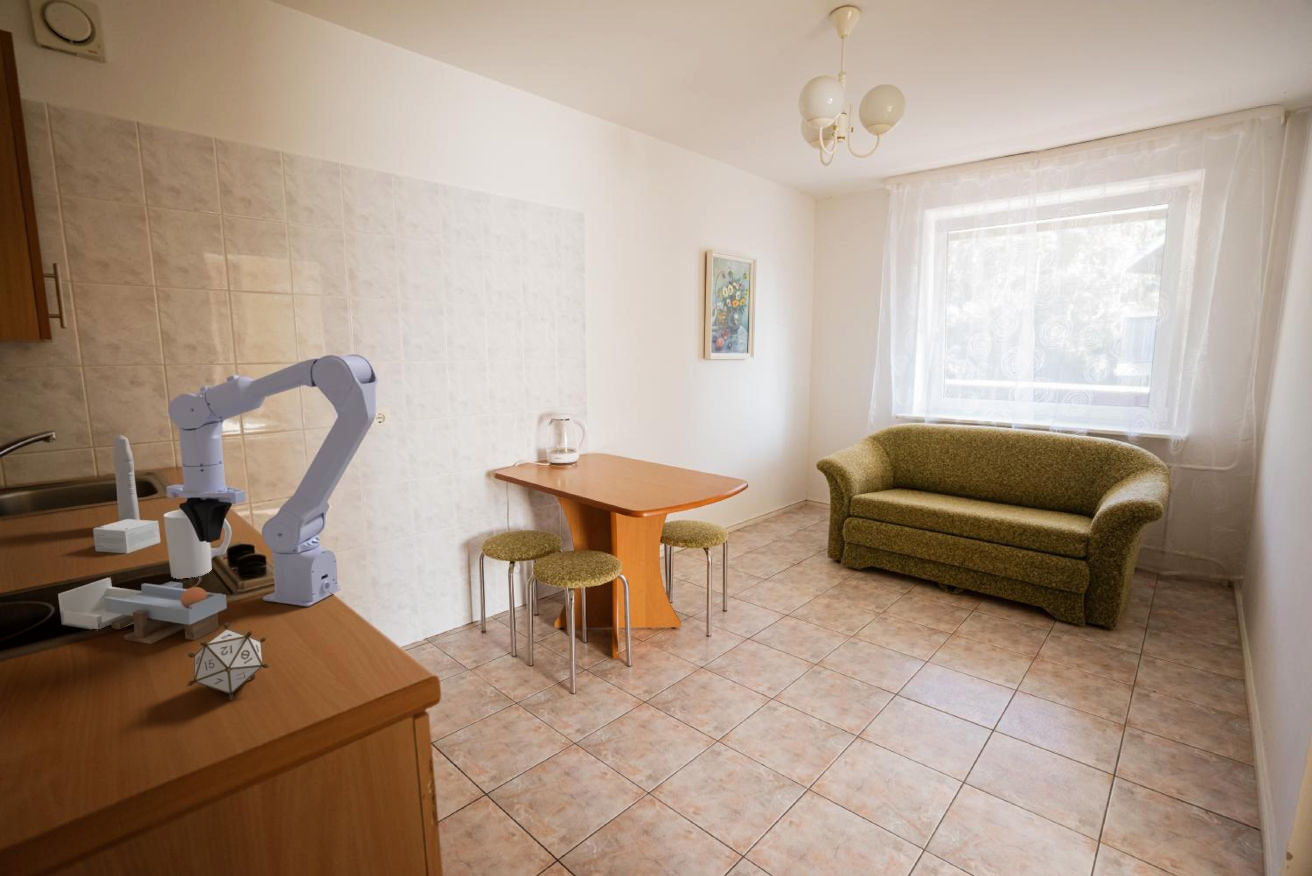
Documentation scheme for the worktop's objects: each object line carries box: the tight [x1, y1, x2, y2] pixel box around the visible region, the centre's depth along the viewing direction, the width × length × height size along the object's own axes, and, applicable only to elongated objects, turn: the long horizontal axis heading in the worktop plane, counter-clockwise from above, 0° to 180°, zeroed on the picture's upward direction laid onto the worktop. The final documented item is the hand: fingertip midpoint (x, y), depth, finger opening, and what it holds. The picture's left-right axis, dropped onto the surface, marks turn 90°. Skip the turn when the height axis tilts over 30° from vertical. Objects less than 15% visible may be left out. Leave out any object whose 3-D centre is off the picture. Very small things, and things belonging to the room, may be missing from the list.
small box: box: [92, 519, 161, 554], centre depth 130 cm, size 8×8×5 cm
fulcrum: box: [111, 610, 220, 645], centre depth 94 cm, size 15×9×4 cm, turn 77°
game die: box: [186, 622, 270, 702], centre depth 78 cm, size 9×8×10 cm
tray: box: [57, 577, 142, 630], centre depth 97 cm, size 7×7×5 cm
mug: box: [163, 509, 232, 580], centre depth 116 cm, size 10×7×12 cm, turn 128°
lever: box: [104, 581, 228, 625], centre depth 95 cm, size 16×10×3 cm, turn 77°
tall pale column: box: [112, 434, 141, 521], centre depth 141 cm, size 11×4×22 cm, turn 53°
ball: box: [181, 586, 207, 608], centre depth 92 cm, size 3×3×3 cm
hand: (209, 540), depth 105 cm, fingers closed
